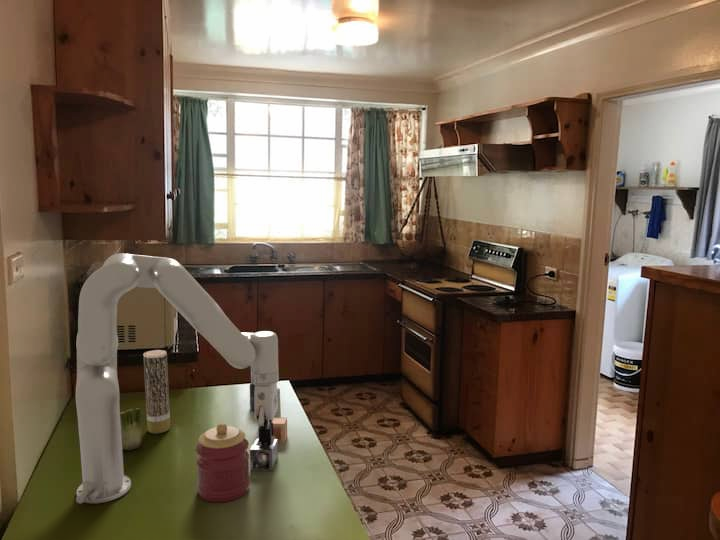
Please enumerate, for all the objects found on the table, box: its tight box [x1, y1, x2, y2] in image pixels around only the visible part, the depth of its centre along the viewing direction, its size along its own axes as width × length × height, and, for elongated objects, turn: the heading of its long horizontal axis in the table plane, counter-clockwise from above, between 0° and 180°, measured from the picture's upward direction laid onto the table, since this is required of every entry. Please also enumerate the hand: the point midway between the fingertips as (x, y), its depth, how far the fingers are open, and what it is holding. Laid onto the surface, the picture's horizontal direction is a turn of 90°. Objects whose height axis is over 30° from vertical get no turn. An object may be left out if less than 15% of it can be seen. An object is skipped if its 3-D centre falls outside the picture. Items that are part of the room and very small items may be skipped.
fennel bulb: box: [120, 407, 143, 451], centre depth 168 cm, size 6×5×12 cm
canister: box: [195, 422, 251, 503], centre depth 145 cm, size 13×13×18 cm
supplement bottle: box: [249, 383, 255, 412], centre depth 198 cm, size 7×7×12 cm
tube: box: [255, 422, 276, 466], centre depth 162 cm, size 12×4×10 cm, turn 178°
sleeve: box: [249, 438, 279, 471], centre depth 160 cm, size 8×6×6 cm
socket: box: [272, 417, 288, 444], centre depth 175 cm, size 4×7×6 cm, turn 88°
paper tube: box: [143, 349, 171, 435], centre depth 180 cm, size 7×7×25 cm
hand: (266, 438), depth 162 cm, fingers closed on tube, 3 cm apart
